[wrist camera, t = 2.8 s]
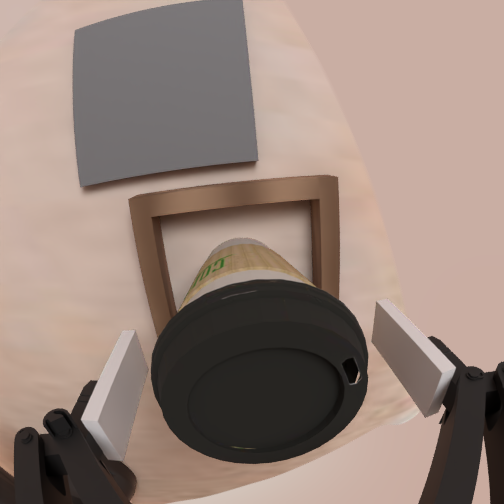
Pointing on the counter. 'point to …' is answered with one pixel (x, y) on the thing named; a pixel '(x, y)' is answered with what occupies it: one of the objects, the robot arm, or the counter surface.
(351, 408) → the coffee cup
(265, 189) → the walnut collar
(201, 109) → the trivet mat
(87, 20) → the counter surface
